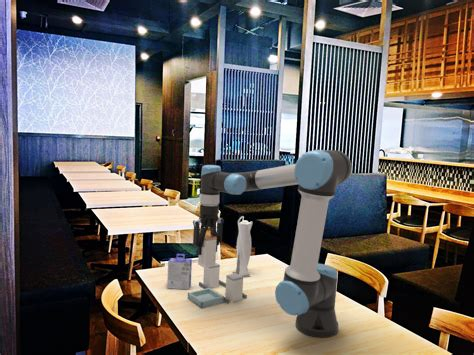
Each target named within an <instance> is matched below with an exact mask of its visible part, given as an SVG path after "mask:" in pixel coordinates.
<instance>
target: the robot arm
mask: <svg viewBox="0 0 474 355" xmlns="http://www.w3.org/2000/svg"><path fill="white" fill-rule="evenodd" d="M352 170H353V167H352V162H351V160H350V158H349V156H347V154H346V153H344V152H342V151H340V150H335V149H332V150H331V149H330V150H327V149H326V150H325V149H314V150H310V151H307V152H304V153H303V154H302V155H300V156H299V157H298V159H297V160H296V162H295V163H294V164H293V163H292V164H287V165H281V166H277V167H270V168H265V169H260V170H254V171H253V170H252V171H245V172H244V171H243V172H223V171H222V168H221V166H220V165H215V164H206V165H203V166H202V167H201V171H200V172H201V174H200V196H199V197H200V201H199V202H200V204H199V217H198V219H197V220H196V219H195V220H193V221H192V224H193V236H192V237H193V238H192V244H193V246H195V247H197V248H196V249H197V250H196V254H197V255H199V256H198V257H197V260H198V261H197V263H198V262H200V263H203V262H204V247H203V242H204V238H205V235H207V231H208V229H210V230H209V231H210V234H211V235H213V236H215V237H217V240H216V253H218V246H219V245H220V243H222V242H223V224H224V223H225V219H224V218H223V217H222V218H221V217H220V216H219V214H220V213H219V209H220V206H219V204H220V194H221V192H222V193H226V194H229V195H242V194H243V193H244V192H250V191H251V192H253V191H259V190H263V189H273V188H279V187H287V186H294V185H295V186H296V185H298V187H297V191H298V193H299V194H300V195H301V198H300V205H299V211H298V218H297V225H296V230H295V236H294V242H293V248H292V254H291V261H290V265H288V266H286V267H285V269H284V275H283V280H281V281H280V282H279V283H278V284H277V285H276V287H275V290H274V294H275V299H276V303H277V304H278V306H279V307H280V309H281V310H282V311H284V312H285V313H287V314H288V315H290V316H296V318H295V327H296V329H297V330H298V331H299V332H301V333H302V334H305V335H307V336H310V337H313V338H314V337H315V338H330V337H333V336H335V335H337V333H338V331H339V322H338V320H337V319H338V318H337V314H336V309H335V308H336V298H337V296H336V295H337V288H338V287H337V284H338V271H337V269H336V268H335V267H334V266H330V265H328V264H324V263H320V262H319V259H320V253H321V247H322V242H323V235H324V231H325V230H324V229H325V224H326V220H327V219H326V218H327V212H328V207H329V202H330V200H331V199H333V198H334V197H335V196H336V191H337V186H338V185H341V184H343V183H345V182H346V181H347V180H348V179H349V178H350V176H351V173H352Z"/></svg>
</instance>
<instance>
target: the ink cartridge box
mask: <svg viewBox="0 0 474 355" xmlns="http://www.w3.org/2000/svg"><path fill="white" fill-rule="evenodd" d="M181 256H182V257H181ZM185 257H186V254H185V253H176V257H175V258H173V257H172V258H169V260H168V262H167V280H166V281H167V282H166V284H167V286H166V288H167V289H173V290H174V289H175V290H176V289H177V290H190V288H191V287H192V269H193V268H192V266H193V265H192V264H193V263H192V261H193V260H192V258H185Z"/></svg>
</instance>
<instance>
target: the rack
mask: <svg viewBox="0 0 474 355" xmlns="http://www.w3.org/2000/svg"><path fill="white" fill-rule="evenodd" d="M220 267H221V266H220V264H219V263H217V262H215V266H213V267H208V268H204V267H203V280H202V281H203V282H201V281H199V282H198V286H199V287H200V288H202V289H207V288H210V289H212V288H217V287H219V286H221V287H224V288H225V296H224V295H222V294H221V293H219V292H218V291H216V290H214V289H212V290H214V291H215V292H217V293H219V294H220V295H222V296H224V303H226V304H227V305H229V304H230V303H235V302H240V301H242V300H243V299H244V300H246V299H247V298H248V296H247V293H246V294H245V293H244V292H243V291H244V290H243V289H244V277H243V276H241V275H239V274H237V273H235V274H233V273H231V274H227V275H225V276H226V277H225V282H224V281H222V280H221V279H220Z"/></svg>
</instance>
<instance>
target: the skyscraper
mask: <svg viewBox="0 0 474 355" xmlns="http://www.w3.org/2000/svg"><path fill="white" fill-rule="evenodd" d="M244 218H245V217H244V216H243V215H242V216H240V217H239V219H238V220H237V226H238V227H237V228H238V235H237V239H236V268H235V271H232V272H231V274H235V273H237V274H239V275H241V276H243V278H250V277H251V275H250V272H249V268H248V266H249V262H250V259H251V253H252V236H251V229H252V226H253V221H250V222H249V221H248V220H244ZM241 219H242V221H241Z"/></svg>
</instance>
